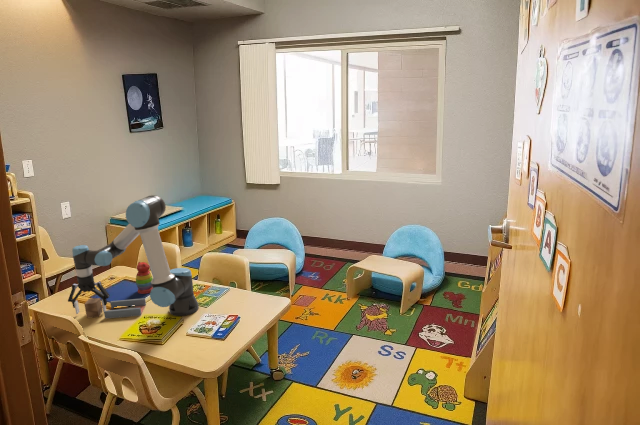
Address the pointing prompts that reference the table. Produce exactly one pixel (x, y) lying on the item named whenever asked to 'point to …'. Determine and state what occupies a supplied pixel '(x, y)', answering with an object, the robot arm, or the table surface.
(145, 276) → the stacking bear
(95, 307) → the walnut block
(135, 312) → the trap trough
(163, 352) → the table surface
